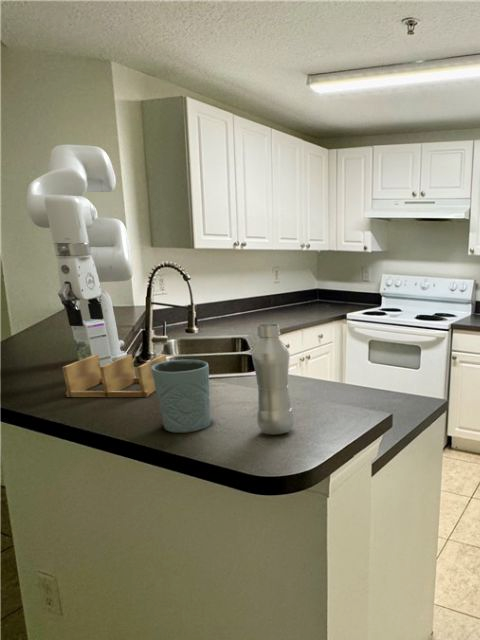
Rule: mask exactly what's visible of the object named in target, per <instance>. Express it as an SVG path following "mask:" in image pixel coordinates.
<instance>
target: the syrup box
mask: <svg viewBox="0 0 480 640" xmlns="http://www.w3.org/2000/svg"><path fill="white" fill-rule="evenodd" d="M83 324H84V325H83V326H70V327H71V331H72V336H73V340H74V344H75V349H76V354H77V359H78V361H79V360H82V359H84V358H87V357H90V356H92V355H95V354H98V356H99V361H100V367H101V366H103V365H106V364H108V363H110V362H112V357H111V352H110V347H109V342H108V336H107V331H106V326H105V322H104V321H100V320H83Z"/></svg>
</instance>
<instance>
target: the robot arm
mask: <svg viewBox="0 0 480 640" xmlns="http://www.w3.org/2000/svg"><path fill="white" fill-rule="evenodd" d="M116 184H117V178H116V174H115V170H114V167H113V163H112V161H111V158H110V157H109V155H108V154H107V152H106V151H105V150H104V149H103V148H102V147H99V146H96V145H95V146H94V145H84V144H83V145H81V144H58V145H56V146H55V147H53V148H52V149H51V152H50V154H49V163H48V165H47V172H46V173H44V174H42V175H40V176H38V177H37V178H35V179H33V180H32V181H31V182H30V183H29V185H28V188H27V193H26V208H27V210H26V211H27V214H28V218H29V219H30V220H31V222H32V223H33V224H34V226H36V227H39V228H42V229H49V230H50V235H51V238H52V239H51V240H52V244H53V250H54V254H55V258H56V259H57V271H58V278H59V284H60V290H59V291H58V293H57V295H58V297H59V299H60V302H61V304H62V305H63V308H64V310H65V311H66V315H67V320H68V325H69V326H70V327H71V326H83V325H84V324H83V320H100V321H104V322H105V326H106V331H107V336H108V342H109V347H110V352H111V357H112V361H115V360H117V359H119V358H122V357H124V356H126V355H128V353H127V351H125V350H121V347H124V346H125V341H124V340H122V339H119V334H118V328H117V323H116V317H115V316H116V315H115V312H114V307H113V301H112V298H111V296H110V293H108V292H107V290H105V289H104V288H103V287H102V285H101V283H111V282H115V283H117V282H126V281H127V282H128V281H129V280H131V279H132V278H133V275H134V266H133V258H132V252H131V246H130V239H129V233H128V230H127V227H126V226H125V224H124V223H123V221H122V220H121V219H118V218H113V217H99V216H98V210H97V208H96V206H95V205H94V204H93V203H92V202H91V201H90V200H89V199H88V198H86V197H85V196H84V195H85V194H86V193H89V192H91V193H111V192H112V191H114V190H115V188H116Z"/></svg>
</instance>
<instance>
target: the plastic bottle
mask: <svg viewBox="0 0 480 640" xmlns="http://www.w3.org/2000/svg"><path fill="white" fill-rule="evenodd" d="M256 328H257V337H259V340H258V341H257V343H256V344H255V346H254V347H253V350H252V354H251V358H252V363H253V364H252V365H253V369H254V372H255V376H256V384H257V390H258V397H257V402H258V404H257V405H258V406H257V407H258V409H257V414H256V416H257V418H256V423H257V426H258V429H259V430H260V431H261V433H263V434H264V435H265V434H266V435H282V434H287V433H288V432H290V431H292V428H293V426H294V421H295V417H294V411H293V408H292V404H291V398H290V392H289V373H290V372H289V371H290V359H291V358H290V355H291V354H290V352H289V349H288V348H287V346H286V345H285V343H284V342H283V341H282V340H281V339H280V336H281V331H280V325H279V324H278V323H260V324H257V327H256Z"/></svg>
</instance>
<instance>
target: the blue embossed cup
mask: <svg viewBox="0 0 480 640" xmlns="http://www.w3.org/2000/svg"><path fill="white" fill-rule="evenodd" d="M151 369H152V374H153V378H154V383H155V388H156V391H155V393H156V397H157V400H158V406H159V410H160V414H161V419H162V423H163V428H164V429H165V431H167V432H171V433H178V434H179V433H181V434H183V433H192V432H197V431H201V430H204V429H206V428H208V427H209V426H210V425H211V422H212V421H211V420H212V419H211V400H210V396H211V395H210V394H211V393H210V367H209V363H208V362H207V361H205V360H201V359H174V360H166V362H161V363H157V364H155V365H153V366H152V367H151Z"/></svg>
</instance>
